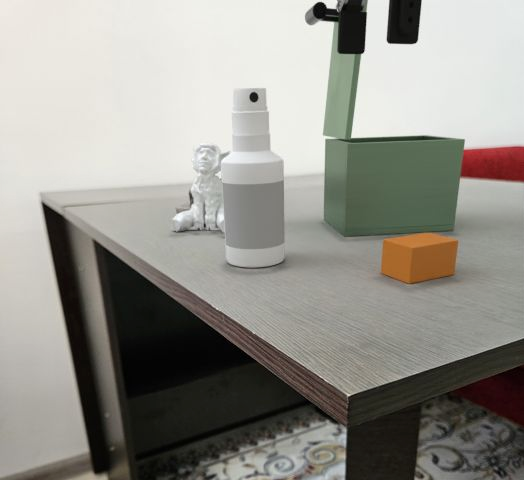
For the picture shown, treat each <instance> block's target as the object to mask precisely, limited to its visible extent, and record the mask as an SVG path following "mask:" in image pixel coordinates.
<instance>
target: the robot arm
mask: <svg viewBox="0 0 524 480" xmlns="http://www.w3.org/2000/svg"><path fill="white" fill-rule="evenodd" d="M336 1H337V3H336V5H337V11H338V12H339V19H338V45H337V51H338V53H339V54H361V55H363V54H365V51H366V37H367V36H366V35H367V22H368V21H367V19H368V11H366V12H362V11H363V9H364V7H365V4H366V1H367V0H336ZM422 1H423V0H388V13H387V14H388V15H387V25H386V26H387V27H386V42H387V44H390V45H415V44H417V43H418V41H419V34H420V23H421V13H422Z"/></svg>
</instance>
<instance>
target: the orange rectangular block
mask: <svg viewBox="0 0 524 480" xmlns="http://www.w3.org/2000/svg"><path fill="white" fill-rule="evenodd" d="M458 249H459V239H457V238H452V237H448V236H444V235H440V234H436V233H433V232H419V233H413V234H408V235H402V236H396V237H390V238H384V239H382V251H381V252H382V253H381V265H380V274H382V275H385V276H388V277H390V278H393V279H395V280H398V281H401V282H403V283H405V284H407V285H410V284H415V283H420V282H424V281H430V280H434V279H439V278H444V277H448V276H454V275H455V271H456V264H457V263H456V262H457V254H458Z"/></svg>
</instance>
